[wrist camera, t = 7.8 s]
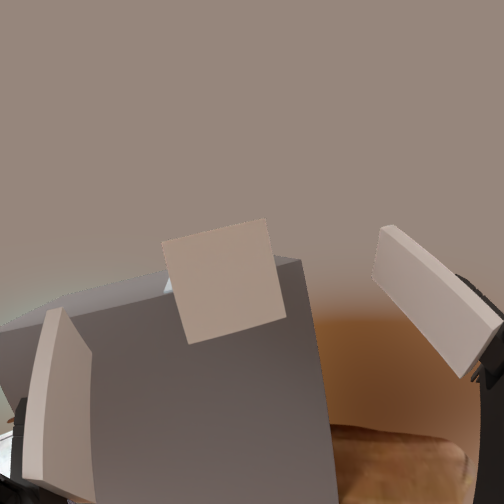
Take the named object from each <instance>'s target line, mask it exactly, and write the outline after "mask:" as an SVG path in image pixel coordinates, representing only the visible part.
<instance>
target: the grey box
mask: <svg viewBox="0 0 504 504" xmlns="http://www.w3.org/2000/svg"><path fill="white" fill-rule="evenodd" d="M273 256H274V261H275V265H276V270H277V275H278V279H279V284H280V288H281V293H282V298H283V302H284V307H285V312H286V317H285V318H282V319H279V320H275V321H272V322H269V323H266V324H262V325H259V326H255V327H252V328H248V329H245V330H241V331H238V332H234V333H231V334H227V335H223V336H220V337H216V338H212V339H208V340H204V341H201V342H197V343H193V344H188V341H187V338H186V335H185V331H184V328H183V325H182V321H181V318H180V314H179V311H178V307H177V304H176V300H175V296H174V293H173V289H172V285H171V281H170V278H169V274H168V270H164V271H159V272H155V273H152V274H147V275H143V276H139V277H135V278H132V279H127V280H123V281H119V282H115V283H111V284H107V285H104V286H99V287H95V288H91V289H87V290H84V291H79V292H75V293H71V294H67V295H63V296H61V297H59V298H57V299H55V300H53V301H51V302H48V303H47V304H44V305H42V306H40V307H38V308H36V309H34V310H32V311H30V312H28V313H26V314H24V315H22V316H20V317H18V318H16V319H14V320H12V321H10V322H8V323H6V324H4V325H2V326H0V385H1V388H2V390H3V392H4V394H5V396H6V398H7V400H8V402H9V404H10V406H11V408H12V410H13V412H14V414H15V410H16V408H17V406H18V404H19V402H20V400H21V398H25V397H28V395H29V388H30V382H31V377H32V371H33V366H34V361H35V356H36V352H37V347H38V343H39V339H40V335H41V331H42V327H43V323H44V320H45V316H46V312H47V310H51V309H55V308H59V307H63V308H64V310H65V311H66V313H67V315H68V316H69V318H70V320H71V321H72V323H73V325H74V326H75V328H76V329H77V331H78V332H79V334H80V335H81V337H82V339H83V340H84V342H85V343H86V345H87V346H88V348H89V349H90V350H91V352H92V364H91V384H90V438H91V458H92V471H93V481H94V490H95V498H96V503H76V502H75V503H76V504H339V500H338V490H337V481H336V472H335V463H334V454H333V446H332V438H331V431H330V423H329V416H328V409H327V402H326V396H325V389H324V383H323V377H322V370H321V364H320V358H319V352H318V346H317V340H316V335H315V329H314V323H313V318H312V313H311V307H310V302H309V297H308V292H307V286H306V281H305V276H304V271H303V267H302V262H301V260H300V259H293V258H287V257H281V256H275V255H273Z"/></svg>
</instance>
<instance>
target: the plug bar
mask: <svg viewBox="0 0 504 504" xmlns="http://www.w3.org/2000/svg"><path fill="white" fill-rule="evenodd" d="M161 245H162V249H163V253H164V258H165V262H166V266H167V270H168V274H169V278H170V281H171V285H172V289H173V293H174V296H175V300H176V304H177V307H178V311H179V314H180V318H181V321H182V325H183V328H184V331H185V335H186V338H187V341H188V344H193V343H197V342H201V341H204V340H208V339H212V338H216V337H220V336H223V335H227V334H231V333H234V332H238V331H241V330H245V329H248V328H252V327H255V326H259V325H262V324H266V323H269V322H272V321H275V320H279V319H282V318H285V317H286V312H285V307H284V302H283V298H282V293H281V288H280V284H279V279H278V275H277V270H276V265H275V261H274V256H273V252H272V248H271V243H270V239H269V234H268V229H267V225H266V221H265V218H262V219H258V220H253V221H249V222H245V223H240V224H236V225H231V226H227V227H222V228H218V229H214V230H209V231H205V232H201V233H197V234H193V235H188V236H184V237H180V238H176V239H172V240H168V241H164V242H161Z"/></svg>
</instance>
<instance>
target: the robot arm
mask: <svg viewBox="0 0 504 504" xmlns="http://www.w3.org/2000/svg"><path fill="white" fill-rule="evenodd" d="M371 278H372V279H373V280H374V281H375V282H376V283H377V284H378V285H379V286H380V287H381V288H382V289H383V290H384V292H385V293H386V294H387V295H388V296H389V297H390V298H391V299H392V300H393V301H394V302H395V304H396V305H397V306H398V307H399V308H400V309H401V310H402V311H403V312H404V313H405V315H406V316H407V317H408V318H409V319H410V320H411V321H412V322H413V324H414V325H415V326H416V327H417V328H418V329H419V330H420V332H421V333H422V334H423V335H424V336H425V337H426V338H427V340H428V341H429V342H430V343H431V344H432V346H433V347H434V348H435V349H436V350H437V351H438V353H439V354H440V355H441V356H442V357H443V359H444V360H445V361H446V362H447V364H448V365H449V366H450V367H451V368H452V369H453V371H454V372H455V373H456V374H457V376H458V377H459V378H460V379H461V378H462V377H463V376H465V375H466V374H467V373H468V372H470V371H471V370H472V369H473V367H474V366H475V365H476V363H477V362H478V360H479V361H480V362H481V364H480V366H479V367H478V368H477V370H476V371H475V372H474V374H473V375H472V377H471V382H473V381H474V380H475V379H476V377H477V376H478V375H479V377H478V378H477V380H476V382H477V383H480V401H481V429H480V431H481V432H480V450H479V463H478V473H477V481H476V488H475V495H474V500H473V504H504V314H503V313H502V312H501V311H500V310H499V309H498V308H497V307H496V306H495V305H494V304H493V303H492V302H490V300H489V299H488V298H487V297H485V296H483V295H482V293H481V292H480V291H479V290H478V289H476V288H475V286H474V285H472V284H471V283H470V282H469V281H468V280H467V279H465V278H463V277H461V276H459V275H457V274H453V273H452V272H451V271H450V270H449V269H448V268H447V267H445V266H444V265H443V264H442V263H441V262H440V261H438V260H437V259H436V258H435V257H434V256H432V255H431V254H430V253H429V252H427V251H426V250H425V249H424V248H423V247H421V246H420V245H419V244H418V243H416V242H415V241H414V240H413V239H411V238H410V237H409V236H408V235H406V234H405V233H404V232H402V231H401V230H399V228H397V227H396V226H395V225H389V226H385V227H381V228H380V233H379V239H378V246H377V251H376V256H375V262H374V267H373V272H372V277H371ZM91 364H92V352H91V350H90V349H89V348H88V346H87V345H86V343H85V342H84V340H83V339H82V337H81V335H80V334H79V332H78V331H77V329H76V328H75V326H74V325H73V323H72V321H71V320H70V318H69V316H68V315H67V313H66V311H65V310H64V308H63V307H59V308H55V309H51V310H47V312H46V316H45V320H44V323H43V327H42V331H41V335H40V339H39V343H38V347H37V352H36V356H35V361H34V366H33V371H32V377H31V382H30V388H29V395H28V397H25V398H21V400H20V402H19V404H18V406H17V408H16V410H15V418H14V425H15V426H14V427H13V438H12V449H11V473H10V479H9V478H7V477H6V476H4V475H2V474H0V504H68V502H67V499H69V500H71V501H74V502H76V503H96V498H95V490H94V481H93V471H92V458H91V438H90V384H91Z"/></svg>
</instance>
